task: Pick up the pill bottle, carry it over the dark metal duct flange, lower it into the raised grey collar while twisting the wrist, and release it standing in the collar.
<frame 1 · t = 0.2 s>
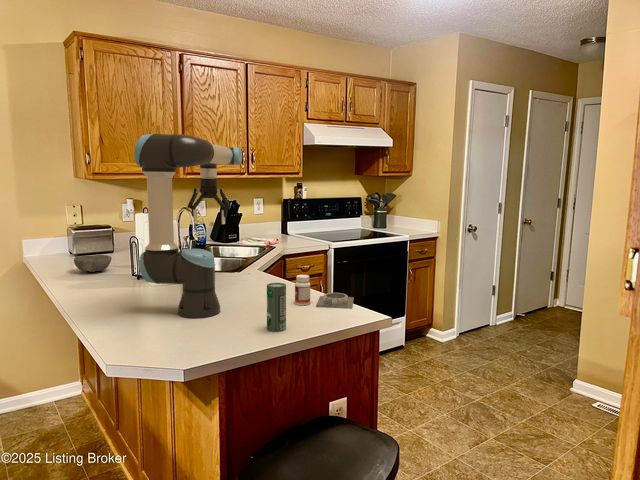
hand: (209, 223, 220), 28 cm above the worktop, fingers open, 13 cm apart
pill bottle: (302, 304, 188), on the worktop
can: (276, 329, 157), on the worktop
duct flange: (335, 302, 190), on the worktop
bowl: (93, 272, 243), on the worktop
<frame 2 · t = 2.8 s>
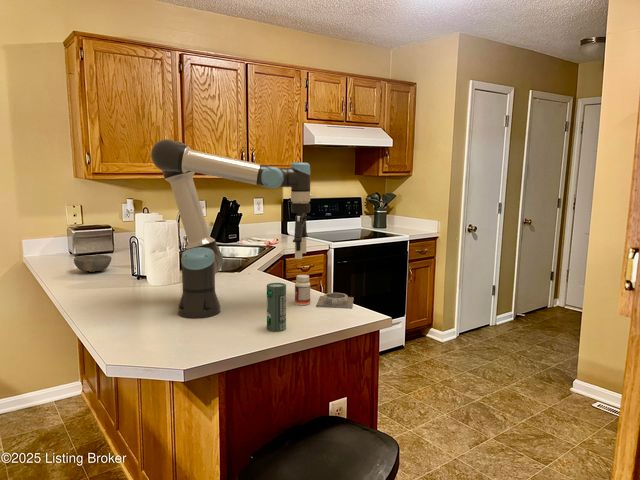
hand: (300, 256, 186), 19 cm above the worktop, fingers open, 13 cm apart
nothing on the worktop moved.
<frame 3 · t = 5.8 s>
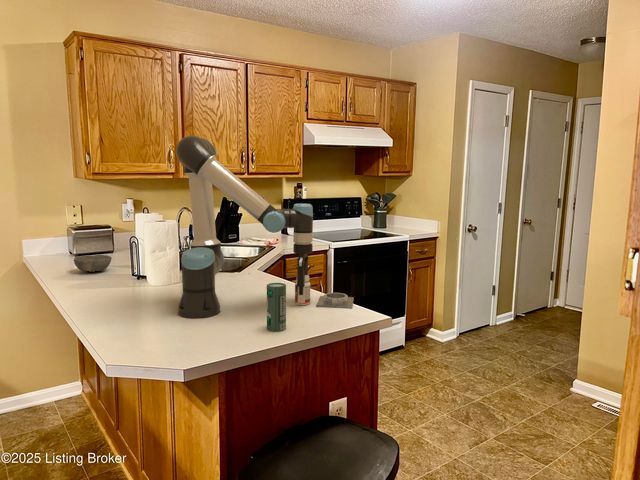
hand: (302, 300, 188), 1 cm above the worktop, fingers closed on pill bottle, 6 cm apart
pill bottle: (302, 304, 188), on the worktop, touching gripper
everything else where it was.
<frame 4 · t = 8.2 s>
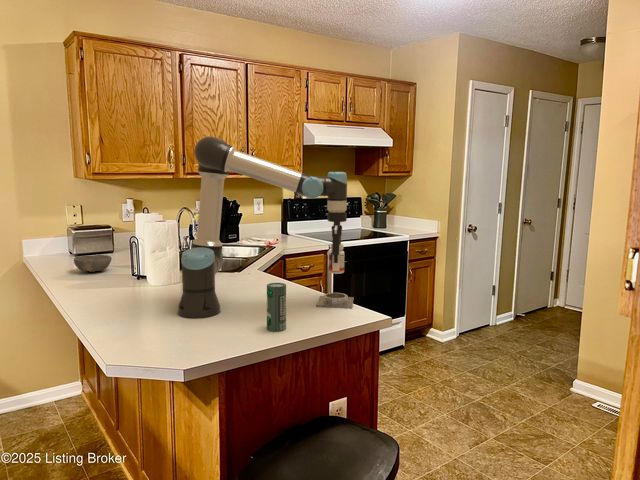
hand: (336, 269, 188), 14 cm above the worktop, fingers closed on pill bottle, 6 cm apart
pill bottle: (336, 272, 188), point 12 cm above the worktop, touching gripper
everything else where it was.
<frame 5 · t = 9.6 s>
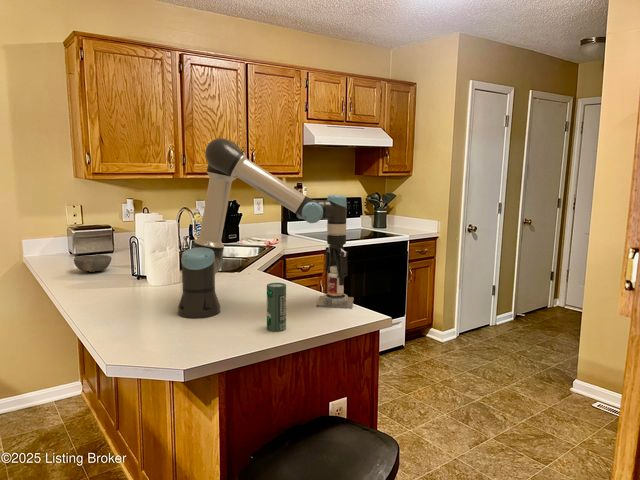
hand: (335, 291, 189), 5 cm above the worktop, fingers closed on pill bottle, 6 cm apart
pill bottle: (335, 294, 189), point 3 cm above the worktop, touching gripper
everything else where it was.
when the fingers open (4 cm above the worktop, at t = 10.8 s): pill bottle drops 2 cm, resting on duct flange.
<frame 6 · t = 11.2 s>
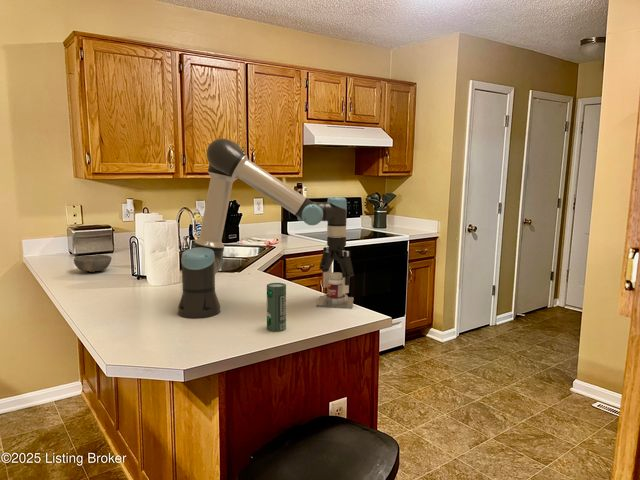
hand: (335, 290, 189), 5 cm above the worktop, fingers open, 11 cm apart
pill bottle: (335, 301, 189), point 1 cm above the worktop, touching duct flange
everything else where it was.
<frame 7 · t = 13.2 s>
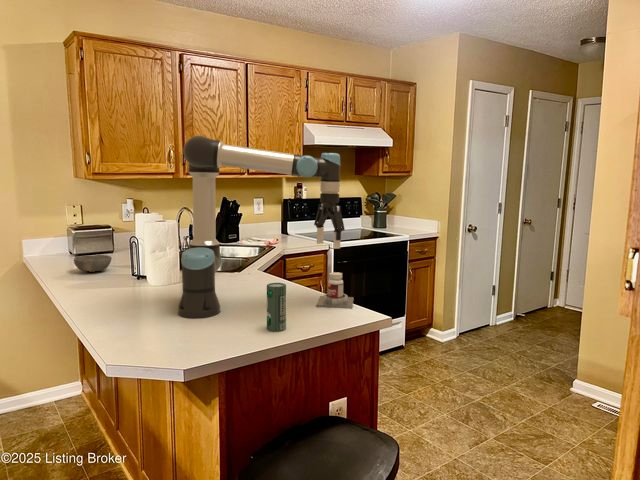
hand: (328, 246, 188), 23 cm above the worktop, fingers open, 13 cm apart
nothing on the worktop moved.
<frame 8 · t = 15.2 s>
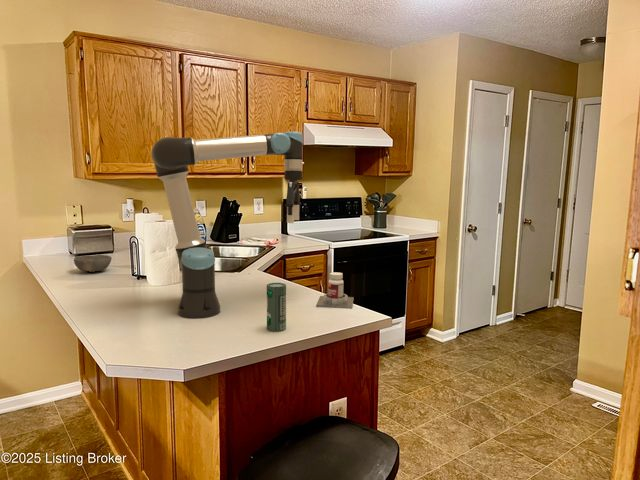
hand: (293, 221, 196), 32 cm above the worktop, fingers open, 13 cm apart
nothing on the worktop moved.
at the end: pill bottle 0.0 cm from the duct flange (horizontally); pill bottle point 0.6 cm above the worktop; pill bottle tilted 0°; the gripper is holding nothing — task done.
